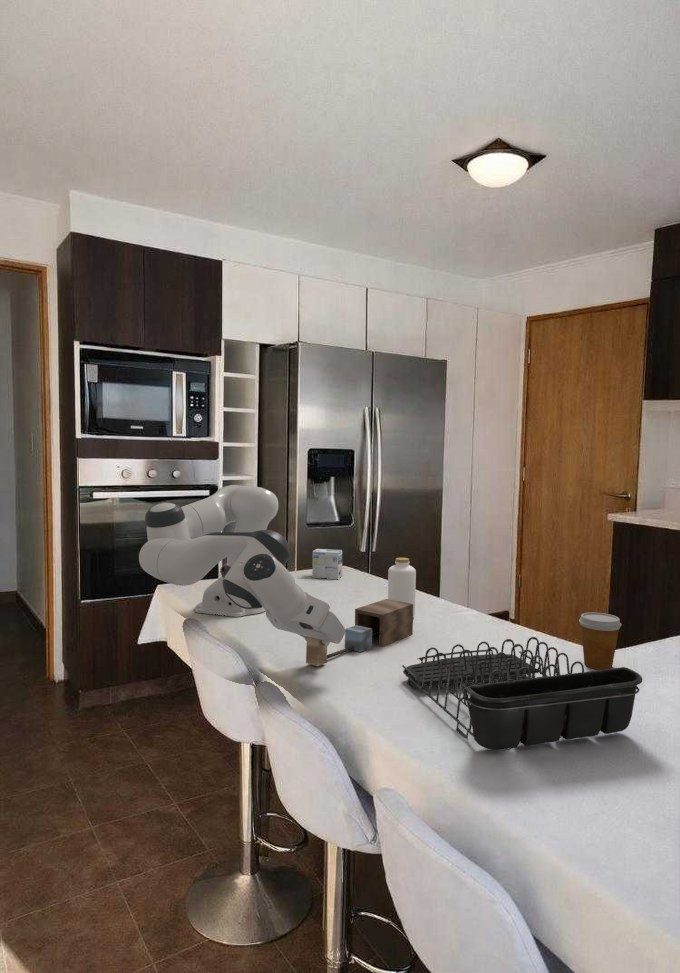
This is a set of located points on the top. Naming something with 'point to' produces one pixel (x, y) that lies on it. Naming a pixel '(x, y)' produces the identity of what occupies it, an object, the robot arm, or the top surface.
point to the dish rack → (528, 696)
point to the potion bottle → (402, 582)
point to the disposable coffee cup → (599, 639)
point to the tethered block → (354, 640)
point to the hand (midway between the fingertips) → (318, 641)
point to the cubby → (386, 619)
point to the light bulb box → (327, 564)
